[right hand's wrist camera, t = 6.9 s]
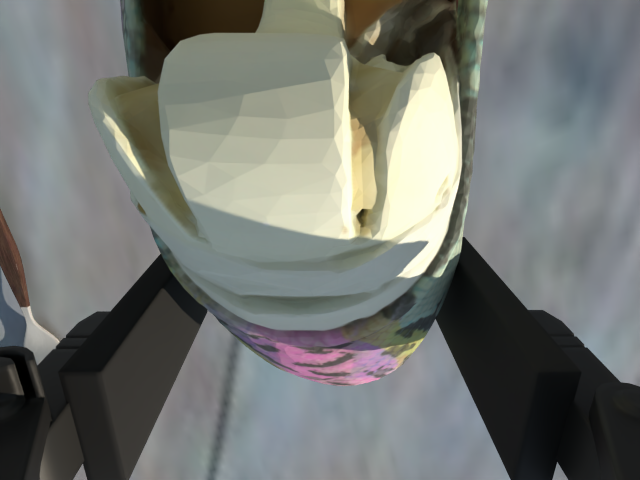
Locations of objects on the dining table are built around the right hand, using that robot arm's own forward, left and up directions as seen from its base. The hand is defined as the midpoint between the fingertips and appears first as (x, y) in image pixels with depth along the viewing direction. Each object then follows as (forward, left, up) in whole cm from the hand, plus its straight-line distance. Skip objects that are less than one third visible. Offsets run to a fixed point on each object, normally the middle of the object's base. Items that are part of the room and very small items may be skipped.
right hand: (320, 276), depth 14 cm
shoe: (+2, +9, 0) cm, 9 cm away
